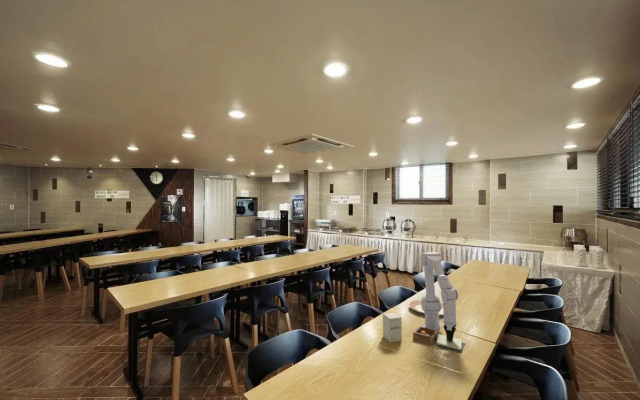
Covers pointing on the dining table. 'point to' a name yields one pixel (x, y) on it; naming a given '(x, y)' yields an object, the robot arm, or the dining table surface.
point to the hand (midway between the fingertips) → (450, 339)
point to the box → (425, 338)
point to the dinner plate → (417, 307)
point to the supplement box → (392, 327)
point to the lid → (449, 342)
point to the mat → (452, 348)
